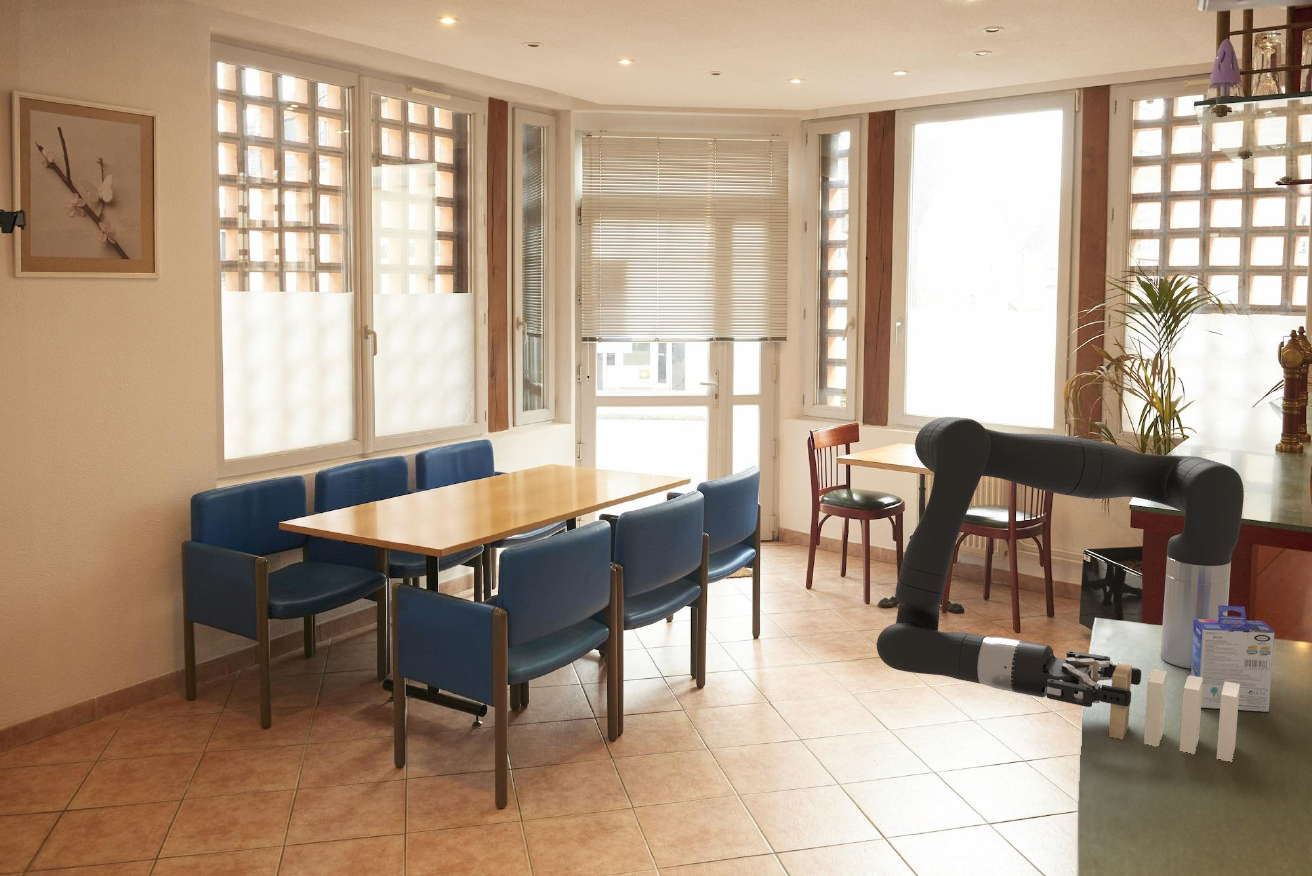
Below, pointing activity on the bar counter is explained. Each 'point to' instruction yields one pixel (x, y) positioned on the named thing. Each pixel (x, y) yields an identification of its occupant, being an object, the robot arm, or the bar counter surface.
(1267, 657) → the ink cartridge box
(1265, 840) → the bar counter surface
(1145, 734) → the ivory domino
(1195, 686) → the ivory domino
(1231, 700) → the ivory domino
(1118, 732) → the oak domino
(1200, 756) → the bar counter surface
